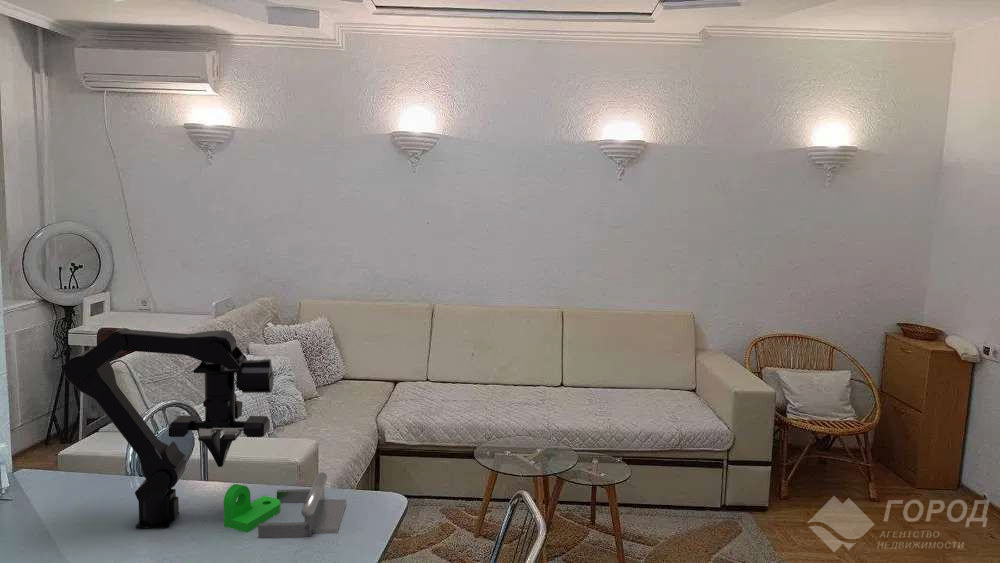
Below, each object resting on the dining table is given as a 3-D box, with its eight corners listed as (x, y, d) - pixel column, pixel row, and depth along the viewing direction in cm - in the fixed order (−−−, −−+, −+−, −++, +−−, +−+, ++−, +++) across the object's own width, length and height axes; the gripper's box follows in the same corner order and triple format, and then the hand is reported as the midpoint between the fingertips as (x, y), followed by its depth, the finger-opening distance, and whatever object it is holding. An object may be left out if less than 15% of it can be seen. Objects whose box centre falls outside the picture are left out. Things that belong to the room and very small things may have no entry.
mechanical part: (247, 533, 140) (247, 495, 139) (224, 527, 142) (223, 489, 141) (286, 509, 151) (285, 474, 150) (263, 504, 153) (263, 469, 153)
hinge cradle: (258, 537, 138) (257, 506, 137) (277, 500, 155) (277, 472, 154) (336, 536, 140) (336, 506, 139) (347, 499, 156) (347, 472, 156)
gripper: (275, 383, 151) (275, 452, 153) (186, 382, 150) (188, 452, 151) (263, 397, 140) (263, 472, 142) (166, 396, 139) (168, 472, 140)
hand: (220, 466), depth 144 cm, fingers closed
